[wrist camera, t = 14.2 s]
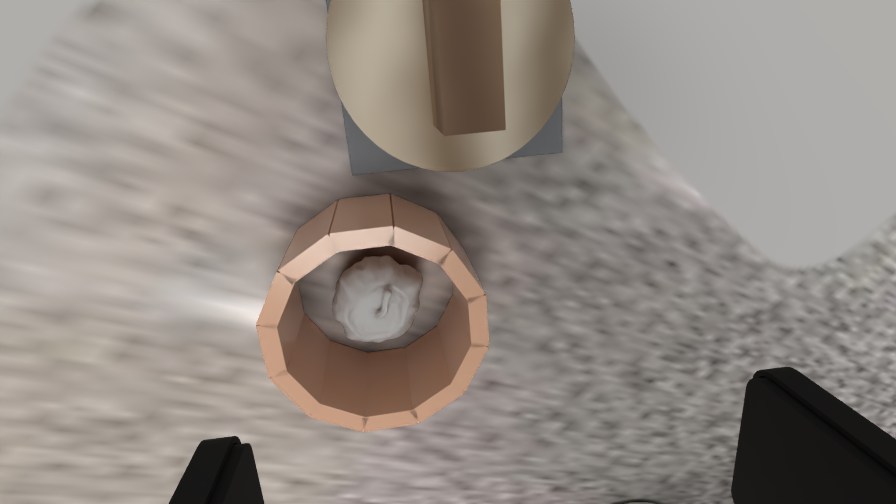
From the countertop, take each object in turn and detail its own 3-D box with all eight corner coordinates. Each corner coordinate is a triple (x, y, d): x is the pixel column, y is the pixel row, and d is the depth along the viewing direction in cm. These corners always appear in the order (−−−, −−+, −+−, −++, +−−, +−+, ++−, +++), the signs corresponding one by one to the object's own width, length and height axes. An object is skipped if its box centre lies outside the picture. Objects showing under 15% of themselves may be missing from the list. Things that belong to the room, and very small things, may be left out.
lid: (567, -100, 27) (618, -145, 21) (567, 156, 32) (609, 175, 26) (308, -85, 26) (288, -128, 20) (348, 179, 31) (341, 205, 25)
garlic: (381, 225, 33) (381, 253, 28) (437, 281, 34) (447, 316, 30) (314, 286, 33) (304, 324, 28) (373, 338, 35) (372, 381, 30)
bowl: (459, 185, 32) (481, 215, 26) (472, 350, 36) (493, 411, 30) (265, 207, 31) (236, 244, 25) (301, 374, 35) (284, 444, 29)
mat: (557, -89, 28) (560, -92, 27) (559, 150, 32) (562, 152, 32) (315, -74, 27) (314, -77, 26) (352, 173, 31) (352, 175, 31)
